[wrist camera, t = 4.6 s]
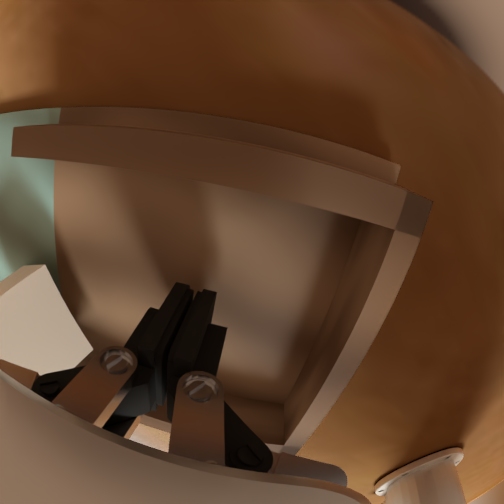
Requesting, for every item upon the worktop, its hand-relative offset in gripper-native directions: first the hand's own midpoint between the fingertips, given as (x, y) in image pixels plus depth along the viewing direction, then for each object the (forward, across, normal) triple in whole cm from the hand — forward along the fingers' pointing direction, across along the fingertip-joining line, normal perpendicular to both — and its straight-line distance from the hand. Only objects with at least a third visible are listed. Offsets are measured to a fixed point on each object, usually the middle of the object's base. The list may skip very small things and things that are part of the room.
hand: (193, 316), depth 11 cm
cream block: (0, +8, +3) cm, 9 cm away
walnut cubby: (+2, +5, 0) cm, 5 cm away
